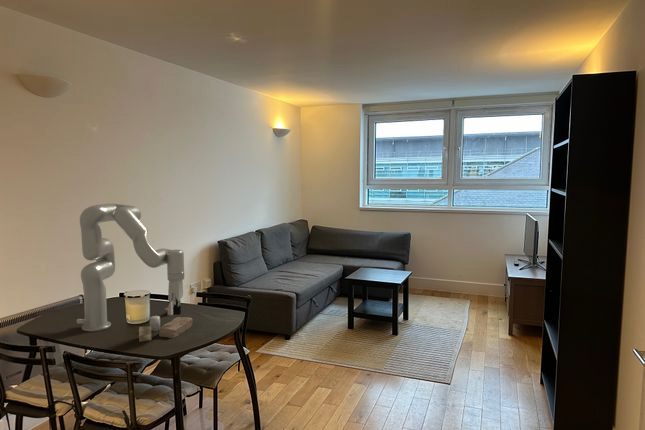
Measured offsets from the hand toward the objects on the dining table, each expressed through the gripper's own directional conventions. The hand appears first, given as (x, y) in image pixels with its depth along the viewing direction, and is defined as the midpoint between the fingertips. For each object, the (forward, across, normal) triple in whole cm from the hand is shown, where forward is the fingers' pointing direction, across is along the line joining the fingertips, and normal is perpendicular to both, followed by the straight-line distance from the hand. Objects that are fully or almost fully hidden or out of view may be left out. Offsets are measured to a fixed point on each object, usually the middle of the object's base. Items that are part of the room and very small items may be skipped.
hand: (177, 314), depth 210 cm
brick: (+9, 0, -1) cm, 9 cm away
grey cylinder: (+8, -3, -11) cm, 14 cm away
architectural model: (+9, -27, -9) cm, 30 cm away
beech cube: (+8, +9, -12) cm, 17 cm away
